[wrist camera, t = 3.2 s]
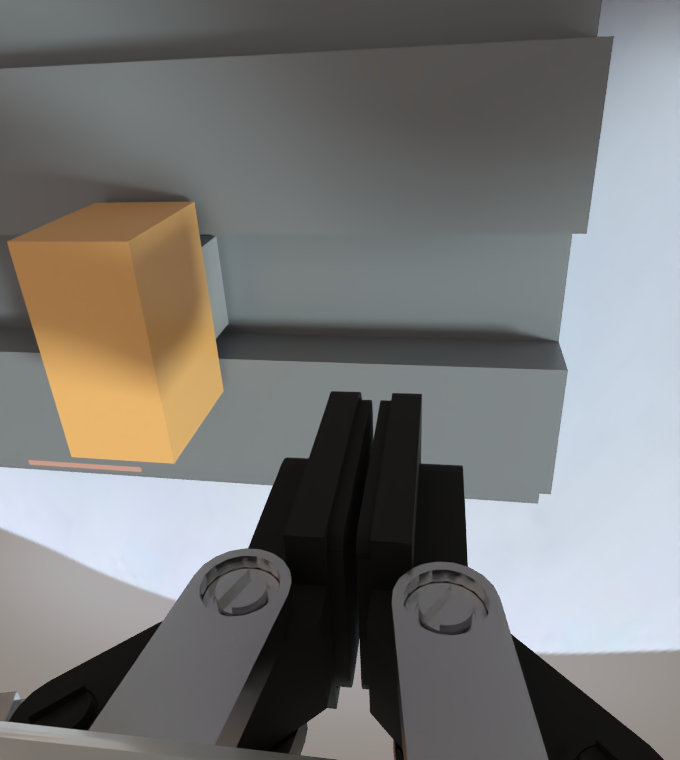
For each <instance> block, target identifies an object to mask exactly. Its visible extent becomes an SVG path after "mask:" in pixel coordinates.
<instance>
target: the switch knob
mask: <svg viewBox="0 0 680 760" xmlns="http://www.w3.org/2000/svg"><path fill="white" fill-rule="evenodd" d="M7 244H8V247H9V251H10V254H11V257H12V261H13V264H14V267H15V271H16V274H17V277H18V281H19V284H20V287H21V291H22V294H23V297H24V301H25V304H26V307H27V311H28V314H29V317H30V320H31V324H32V327H33V330H34V334H35V337H36V340H37V344H38V347H39V350H40V354H41V357H42V360H43V364H44V367H45V370H46V374H47V377H48V380H49V384H50V387H51V390H52V394H53V397H54V400H55V404H56V407H57V410H58V414H59V417H60V420H61V424H62V427H63V430H64V434H65V437H66V440H67V444H68V447H69V450H70V454H71V457H77V458H93V459H108V460H124V461H140V462H155V463H171V464H174V463H175V462H176V460H177V459H178V457H179V456H180V455H181V453H182V452H183V450H184V449H185V447H186V446H187V444H188V443H189V441H190V440H191V438H192V437H193V435H194V434H195V432H196V431H197V429H198V428H199V427H200V425H201V424H202V422H203V421H204V419H205V418H206V416H207V415H208V413H209V412H210V410H211V409H212V407H213V406H214V404H215V403H216V402H217V400H218V399H219V397H220V396H221V394H222V393H223V391H224V390H223V384H222V377H221V371H220V364H219V358H218V351H217V345H216V338H217V337H218V336H219V334H220V333H221V332H222V331H223V330H224V328H225V327H226V326H227V325H228V324H229V322H228V315H227V308H226V301H225V294H224V287H223V280H222V273H221V266H220V259H219V252H218V245H217V237H216V236H200V234H199V228H198V221H197V215H196V208H195V202H115V203H93V204H91V205H89V206H87V207H84V208H82V209H80V210H77V211H75V212H73V213H71V214H68V215H66V216H64V217H62V218H59V219H57V220H55V221H53V222H50V223H48V224H46V225H44V226H41V227H39V228H37V229H34V230H32V231H30V232H28V233H25V234H23V235H21V236H19V237H16V238H14V239H12V240H10V241H7Z"/></svg>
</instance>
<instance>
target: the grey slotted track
mask: <svg viewBox="0 0 680 760" xmlns="http://www.w3.org/2000/svg"><path fill="white" fill-rule="evenodd" d="M601 2H602V0H0V467H10V468H25V469H40V470H54V471H69V472H84V473H98V474H113V475H128V476H142V477H157V478H172V479H186V480H201V481H216V482H230V483H245V484H260V485H273V484H274V482H275V479H276V477H277V474H278V472H279V469H280V466H281V464H282V462H283V460H284V459H285V458H287V457H289V458H309V456H310V453H311V450H312V447H313V444H314V441H315V438H316V435H317V432H318V429H319V426H320V423H321V420H322V417H323V414H324V411H325V408H326V405H327V402H328V399H329V396H330V393H331V391H342V392H361V395H362V400H372V404H373V439H374V434H375V428H376V423H377V417H378V411H379V406H380V401H381V400H387V401H391V398H392V393H410V394H422V434H421V464H442V465H462V466H463V476H464V498H465V499H480V500H494V501H509V502H524V503H538V499H539V493H540V494H551V488H552V481H553V474H554V466H555V459H556V452H557V445H558V437H559V430H560V423H561V415H562V408H563V401H564V394H565V386H566V379H567V372H568V370H567V367H566V364H565V360H564V357H563V354H562V351H561V348H560V345H559V342H558V341H559V333H560V325H561V317H562V310H563V302H564V294H565V286H566V278H567V270H568V262H569V254H570V246H571V239H572V234H587V226H588V219H589V212H590V205H591V197H592V190H593V183H594V175H595V168H596V161H597V154H598V146H599V139H600V132H601V125H602V117H603V110H604V103H605V95H606V88H607V81H608V74H609V66H610V59H611V52H612V45H613V37H614V36H609V37H597V33H598V25H599V18H600V10H601ZM115 202H195V208H196V215H197V221H198V228H199V234H200V236H216V237H217V245H218V252H219V259H220V266H221V273H222V280H223V287H224V294H225V301H226V308H227V315H228V322H229V324H228V325H227V326H226V327H225V328H224V330H223V331H222V332H221V333H220V334H219V336H218V337H217V338H216V345H217V351H218V358H219V364H220V371H221V377H222V384H223V390H224V391H223V393H222V394H221V396H220V397H219V399H218V400H217V402H216V403H215V404H214V406H213V407H212V409H211V410H210V412H209V413H208V415H207V416H206V418H205V419H204V421H203V422H202V424H201V425H200V427H199V428H198V429H197V431H196V432H195V434H194V435H193V437H192V438H191V440H190V441H189V443H188V444H187V446H186V447H185V449H184V450H183V452H182V453H181V455H180V456H179V457H178V459H177V460H176V462H175V463H174V464H171V463H155V462H140V461H124V460H108V459H93V458H77V457H71V454H70V450H69V447H68V444H67V440H66V437H65V434H64V430H63V427H62V424H61V420H60V417H59V414H58V410H57V407H56V404H55V400H54V397H53V394H52V390H51V387H50V384H49V380H48V377H47V374H46V370H45V367H44V364H43V360H42V357H41V354H40V350H39V347H38V344H37V340H36V337H35V334H34V330H33V327H32V324H31V320H30V317H29V314H28V311H27V307H26V304H25V301H24V297H23V294H22V291H21V287H20V284H19V281H18V277H17V274H16V271H15V267H14V264H13V261H12V257H11V254H10V251H9V247H8V244H7V241H10V240H12V239H14V238H16V237H19V236H21V235H23V234H25V233H28V232H30V231H32V230H34V229H37V228H39V227H41V226H44V225H46V224H48V223H50V222H53V221H55V220H57V219H59V218H62V217H64V216H66V215H68V214H71V213H73V212H75V211H77V210H80V209H82V208H84V207H87V206H89V205H91V204H93V203H115Z"/></svg>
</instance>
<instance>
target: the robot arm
mask: <svg viewBox="0 0 680 760" xmlns="http://www.w3.org/2000/svg"><path fill="white" fill-rule="evenodd" d="M421 434H422V394H410V393H392V398H391V401H387V400H381V401H380V406H379V411H378V417H377V423H376V428H375V434H374V439H373V404H372V400H362V395H361V392H342V391H331V393H330V396H329V399H328V402H327V405H326V408H325V411H324V414H323V417H322V420H321V423H320V426H319V429H318V432H317V435H316V438H315V441H314V444H313V447H312V450H311V453H310V456H309V458H289V457H287V458H285V459H284V460H283V462H282V464H281V466H280V469H279V472H278V474H277V477H276V479H275V482H274V484H273V487H272V489H271V492H270V494H269V497H268V499H267V502H266V505H265V507H264V510H263V512H262V515H261V517H260V520H259V522H258V525H257V527H256V530H255V533H254V535H253V538H252V540H251V543H250V545H249V548H248V549H247V548H246V549H239V550H233V551H229V552H226V553H224V554H221V555H219V556H216V557H215V558H213V559H212V560H210V561H209V562H207V563H205V564H204V565H203V566H202V567H201V568H200V569H199V570H198V572H197V573H196V574H195V575H194V576H193V578H192V579H191V581H190V582H189V584H188V585H187V586H186V588H185V589H184V591H183V592H182V594H181V595H180V597H179V598H178V600H177V601H176V603H175V604H174V606H173V607H172V609H171V610H170V611H169V613H168V614H167V616H166V617H165V619H164V620H163V621H162V622H160V623H158V624H156V625H154V626H152V627H150V628H148V629H147V630H144V631H143V632H141V633H139V634H137V635H135V636H133V637H131V638H129V639H128V640H126V641H124V642H122V643H120V644H118V645H117V646H115V647H113V648H111V649H109V650H107V651H105V652H103V653H101V654H100V655H98V656H96V657H94V658H92V659H90V660H88V661H86V662H84V663H82V664H81V665H79V666H77V667H75V668H73V669H71V670H69V671H67V672H66V673H64V674H62V675H60V676H58V677H56V678H54V679H52V680H50V681H49V682H47V683H46V684H44V685H43V686H41V687H40V688H38V689H37V690H35V691H34V692H33V693H32V694H31V695H29V696H28V697H27V698H26V699H20V698H19V695H18V693H17V691H15V692H6V693H0V760H335V759H326V758H318V757H310V756H302V755H301V752H302V749H303V746H304V743H305V740H306V735H307V730H308V727H307V722H308V721H309V720H311V719H312V718H314V717H315V716H316V715H318V714H319V713H321V712H322V711H323V710H325V709H326V708H333V709H336V708H337V703H338V696H339V690H340V687H352V685H353V679H354V672H355V664H356V658H357V651H358V645H359V638H360V656H361V657H360V658H361V680H362V688H363V689H369V695H370V713H371V714H372V715H373V716H374V717H375V719H376V720H377V721H378V722H379V723H380V724H381V725H382V727H383V728H384V729H385V730H386V731H387V732H388V734H389V735H390V736H391V737H392V738H393V753H394V760H664V759H663V758H662V757H661V756H660V755H659V754H658V753H657V752H656V751H655V750H654V749H653V748H652V747H651V746H650V745H649V744H647V743H646V742H645V741H644V740H642V739H641V738H640V737H639V736H637V735H636V734H635V733H634V732H632V731H631V730H630V729H629V728H627V727H626V726H625V725H623V724H622V723H621V722H620V721H619V720H617V719H616V718H615V717H614V716H612V715H611V714H610V713H609V712H607V711H606V710H605V709H603V708H602V707H601V706H600V705H599V704H598V703H596V702H595V701H594V700H593V699H591V698H590V697H589V696H587V695H586V694H585V693H584V692H583V691H581V690H580V689H579V688H578V687H576V686H575V685H574V684H572V683H571V682H570V681H569V680H568V679H566V678H565V677H564V676H562V675H561V674H560V673H559V672H557V671H556V670H555V669H554V668H553V667H551V666H550V665H549V664H548V663H546V662H545V661H544V660H543V659H541V658H540V657H539V656H538V655H537V654H535V653H534V652H533V651H532V650H530V649H529V648H528V647H527V646H525V645H524V644H523V643H522V642H520V641H519V640H518V639H517V638H515V637H514V636H513V635H512V634H511V633H510V630H509V626H508V623H507V620H506V616H505V613H504V610H503V606H502V603H501V600H500V597H499V595H498V593H497V591H496V589H495V587H494V586H493V585H492V584H491V583H490V582H489V581H488V580H487V579H486V578H485V577H484V576H483V575H482V574H480V573H478V572H477V571H475V570H473V569H471V568H470V567H468V563H467V541H466V520H465V498H464V476H463V466H462V465H442V464H421Z"/></svg>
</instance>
